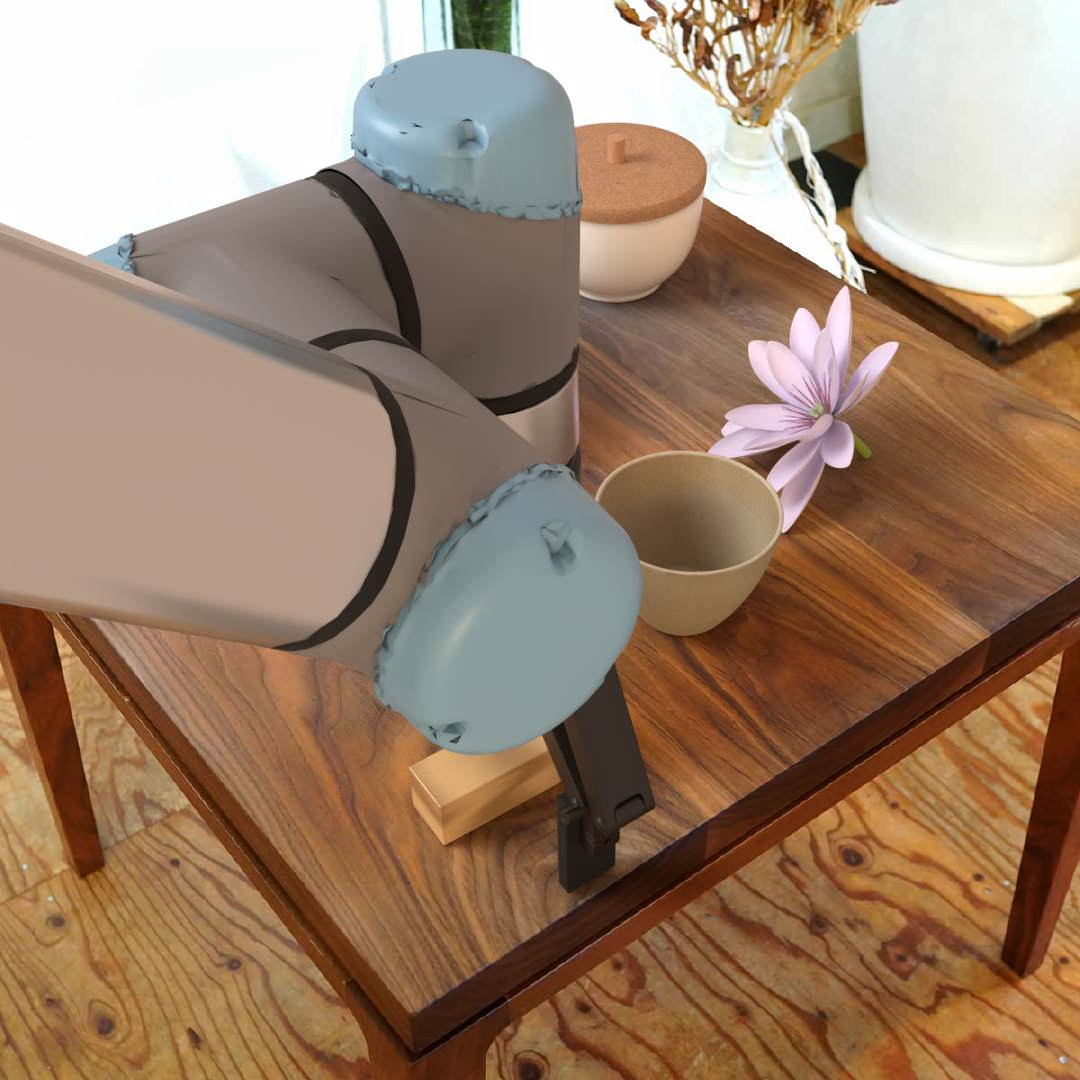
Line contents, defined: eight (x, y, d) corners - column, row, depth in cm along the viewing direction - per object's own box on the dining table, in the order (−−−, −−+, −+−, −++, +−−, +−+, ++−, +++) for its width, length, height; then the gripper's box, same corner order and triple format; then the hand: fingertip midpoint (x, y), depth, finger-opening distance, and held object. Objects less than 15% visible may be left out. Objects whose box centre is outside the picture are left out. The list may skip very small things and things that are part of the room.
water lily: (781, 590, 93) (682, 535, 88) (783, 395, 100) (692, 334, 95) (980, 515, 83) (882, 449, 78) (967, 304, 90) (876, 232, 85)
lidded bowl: (515, 317, 104) (509, 176, 96) (542, 226, 113) (540, 91, 106) (692, 330, 102) (701, 187, 95) (706, 237, 111) (715, 100, 104)
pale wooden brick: (444, 846, 70) (440, 807, 68) (412, 805, 72) (407, 766, 70) (597, 762, 74) (597, 724, 72) (563, 725, 76) (562, 686, 74)
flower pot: (657, 696, 77) (662, 599, 72) (560, 583, 84) (558, 487, 79) (808, 626, 81) (823, 529, 76) (704, 523, 87) (711, 428, 82)
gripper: (762, 585, 52) (726, 920, 67) (412, 279, 68) (444, 604, 82) (590, 675, 49) (591, 1005, 64) (265, 334, 65) (325, 661, 79)
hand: (508, 780), depth 73 cm, fingers open, 13 cm apart
